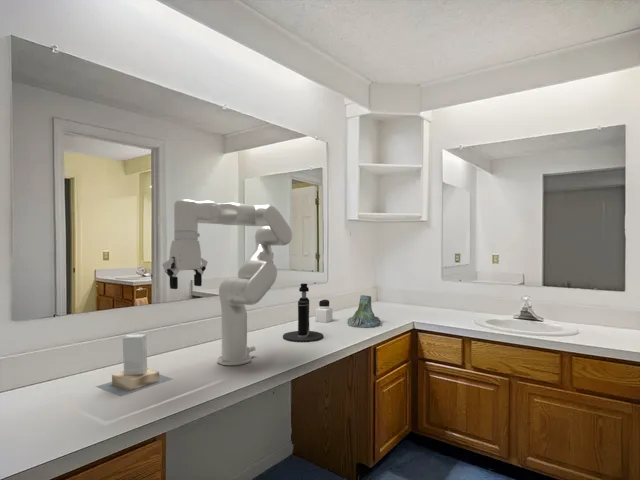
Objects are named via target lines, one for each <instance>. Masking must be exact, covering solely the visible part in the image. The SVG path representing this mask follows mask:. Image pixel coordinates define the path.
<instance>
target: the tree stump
mask: <svg viewBox="0 0 640 480" xmlns="http://www.w3.org/2000/svg"><path fill="white" fill-rule="evenodd" d="M358 304H359V305H358V307H357V310H356V311H355V312H354V314H353V315H352V316H350V317H349V318H348V319H346V320H347V321H346V322H347V325H348V326H349V327H353V328H357V329H371V328H378V327H379V325H380V324H381V320H380V317H379V316H375V313H374V312H373V309H372V308H373V307H372V296H370V295H365V294H364V295H363V294H362V295H360V298H359V303H358Z"/></svg>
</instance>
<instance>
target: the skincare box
mask: <svg viewBox="0 0 640 480" xmlns="http://www.w3.org/2000/svg"><path fill="white" fill-rule="evenodd" d="M122 353H123V358H122V359H123V371H124V375H141V374H144V373H145V372H146V371H147V368H148V349H147V334H143V333H142V334H141V333H137V334H126V335H125V336H123V337H122Z"/></svg>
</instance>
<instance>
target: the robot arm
mask: <svg viewBox="0 0 640 480" xmlns="http://www.w3.org/2000/svg"><path fill="white" fill-rule="evenodd" d="M173 207H174V208H173V215H174V216H173V221H174V224H173V227H174V232H173V235H174V237H173V238H174V240H171V245H170V249H169V256H168V257H169V258H168V260H166V261H165V262H164V263H162V267H163V269H164V272H165V273H166V274H167V276H168V277H169V288H170V289H171V290H177V289H179V286H178V284H179V282H178V281H179V280H178V279H179V278H178V276H177V275H178V274H179V272H181V271H182V272H183V271H193V272H194V274H193V284H194V286H195V287H202V286H203V285H202V282H203V281H202V280H203V277H202V275H204V272H205V271H206V267H207V265H208V260H205V259H204V258H202V251H201V246H200V245H201V244H200V241H199V239H198V238H199V237H200V235H201V234H200V233H198V226H199V225H198V224H206V225H207V224H209V225H210V224H214V225H223V226H224V225H225V226H242V227H243V226H246V227H258V228H257V229H256V231H255V236H254V239H255V250H254V252H253V253H252V254H251V255H250V256H249V257H248V259H246V261H245V262H243V264H242V265H241V266H240V268H239V269H238V271H237V277H229V278H226V279H224V280H223V281H222V282H221V283H220V285H219V288H218V296H219V301H220V302H219V303H220V307H221V355H220V356H219V357H217V364H220V365H223V366H240V365H245V364H248V363H250V362H251V361H252V356H251V355H250V353H252V352H255V351H256V346H254V345H253V346H248V311H247V308H246V306H252V305H256V304H258V303H259V302H260V301H261V300H262V299H263V297H264V296H265V295H266V294H267V292H269V290H270V289H271V287H272V286H273V285H274V284H275V281H276V280H277V277H278V268H277V266H276V265H275V264H274V263H273V260H274V255H273V251H272V246H286V245H289V244H290V243H291V242H292V239H293V232H292V229H291V227H290V225H289V224H288V222H287V221H286V219H285V218H284V216H283V215H282V214H281V212H280V211H279V210H278V209H277V208H276V206H274V205H272V204H250V203H249V204H247V203H238V202H226V203H217V202H215V201H212V200H200V201H198V200H197V201H196V200H193V199H177V200H175V201H174V205H173Z"/></svg>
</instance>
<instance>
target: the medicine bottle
mask: <svg viewBox="0 0 640 480" xmlns="http://www.w3.org/2000/svg"><path fill="white" fill-rule="evenodd" d="M332 321H333V308H332V307H330V300H328V299H319V300H318V307H317V308H315V322H317V323H325V324H326V323H330V322H332Z"/></svg>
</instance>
